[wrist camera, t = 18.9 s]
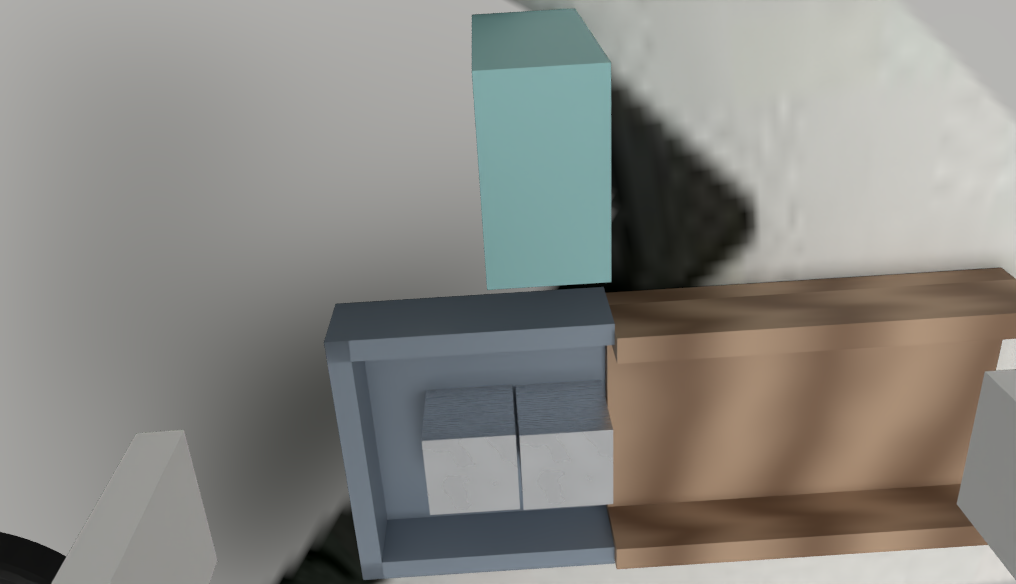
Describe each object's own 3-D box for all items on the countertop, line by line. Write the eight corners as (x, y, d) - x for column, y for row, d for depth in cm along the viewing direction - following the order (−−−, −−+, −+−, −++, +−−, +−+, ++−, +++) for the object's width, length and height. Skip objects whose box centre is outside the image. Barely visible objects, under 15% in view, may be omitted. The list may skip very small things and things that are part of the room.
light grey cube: (519, 455, 43) (523, 509, 39) (515, 385, 41) (519, 435, 38) (601, 450, 43) (613, 503, 39) (601, 379, 41) (613, 429, 38)
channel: (604, 510, 45) (616, 569, 42) (603, 292, 40) (617, 338, 36) (954, 487, 45) (998, 544, 42) (1001, 267, 40) (1056, 310, 36)
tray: (370, 529, 45) (363, 579, 42) (335, 303, 40) (323, 342, 36) (604, 514, 45) (614, 563, 42) (603, 286, 40) (614, 324, 37)
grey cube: (433, 459, 43) (430, 514, 39) (425, 390, 41) (421, 441, 38) (516, 454, 43) (519, 509, 39) (511, 384, 41) (515, 435, 38)
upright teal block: (483, 185, 37) (487, 289, 29) (471, 14, 34) (471, 70, 25) (577, 180, 38) (611, 282, 29) (575, 8, 34) (610, 62, 25)
